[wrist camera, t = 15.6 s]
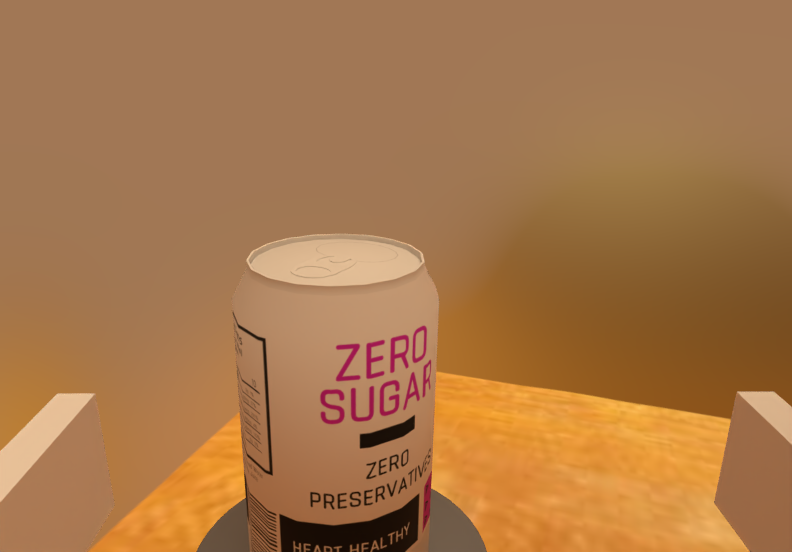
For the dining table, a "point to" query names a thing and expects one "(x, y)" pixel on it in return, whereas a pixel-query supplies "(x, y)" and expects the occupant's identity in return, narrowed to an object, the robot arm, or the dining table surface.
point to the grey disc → (448, 530)
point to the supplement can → (337, 394)
